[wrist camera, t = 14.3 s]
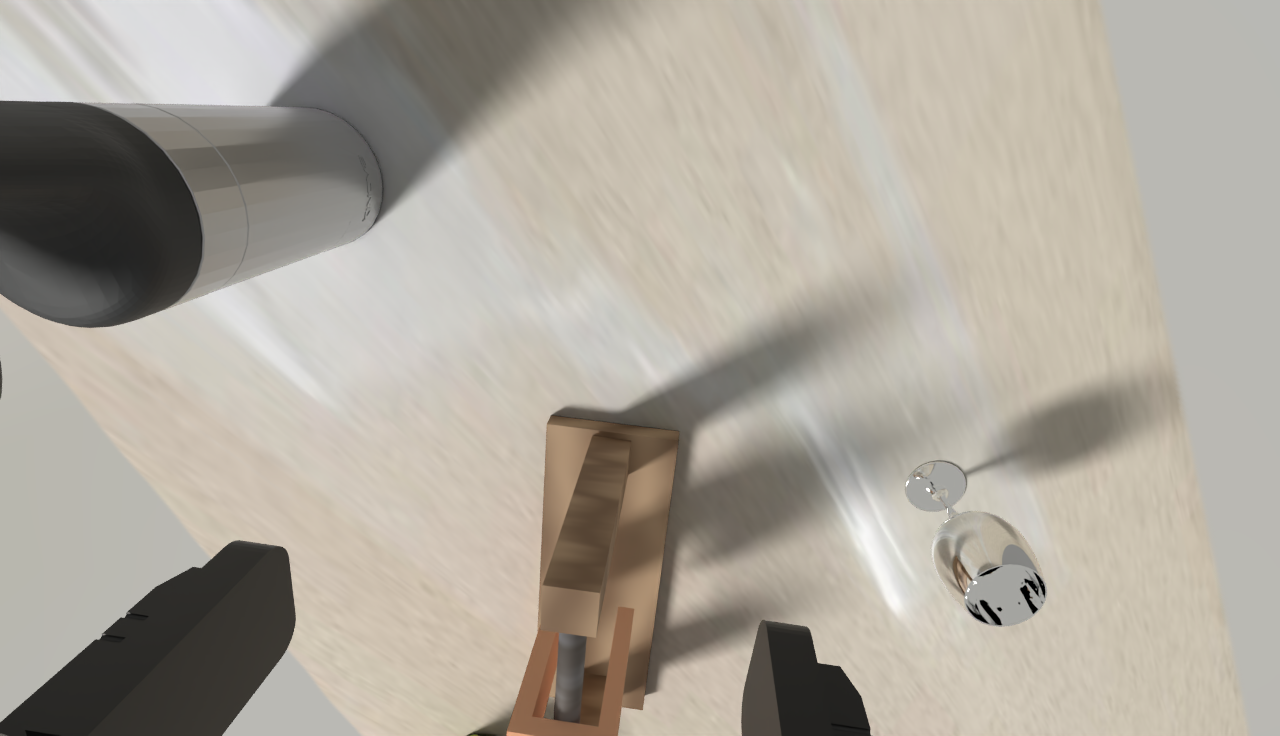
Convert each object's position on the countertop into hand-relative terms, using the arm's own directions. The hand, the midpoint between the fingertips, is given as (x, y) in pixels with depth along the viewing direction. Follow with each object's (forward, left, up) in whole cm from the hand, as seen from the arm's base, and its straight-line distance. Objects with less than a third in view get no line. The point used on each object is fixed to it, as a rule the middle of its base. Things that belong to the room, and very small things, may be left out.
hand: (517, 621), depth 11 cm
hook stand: (-2, -28, -36) cm, 45 cm away
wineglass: (+23, -16, -36) cm, 46 cm away
